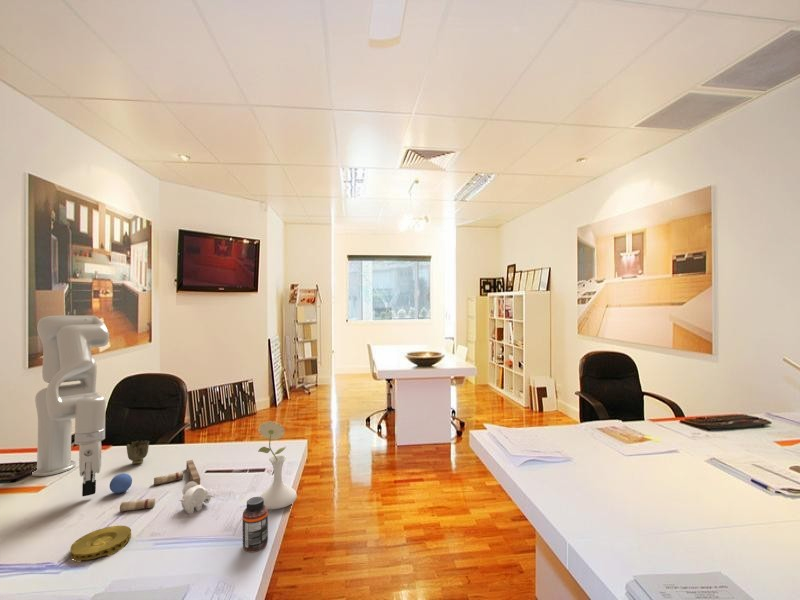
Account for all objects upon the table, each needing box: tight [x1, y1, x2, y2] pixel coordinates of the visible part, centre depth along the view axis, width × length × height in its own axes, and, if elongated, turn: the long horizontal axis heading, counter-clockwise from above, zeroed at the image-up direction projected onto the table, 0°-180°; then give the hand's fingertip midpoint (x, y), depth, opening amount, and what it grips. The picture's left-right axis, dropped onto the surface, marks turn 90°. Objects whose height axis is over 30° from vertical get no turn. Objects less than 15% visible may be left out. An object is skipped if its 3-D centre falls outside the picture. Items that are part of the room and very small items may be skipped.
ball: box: [109, 472, 133, 494], centre depth 124 cm, size 6×6×6 cm
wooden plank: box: [185, 459, 201, 485], centre depth 135 cm, size 20×2×3 cm, turn 36°
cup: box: [125, 439, 150, 466], centre depth 148 cm, size 8×7×8 cm
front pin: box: [119, 497, 156, 512], centre depth 113 cm, size 2×2×8 cm
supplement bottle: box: [242, 496, 269, 553], centre depth 94 cm, size 6×6×11 cm
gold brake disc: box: [69, 525, 132, 562], centre depth 95 cm, size 12×12×2 cm
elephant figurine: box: [178, 480, 215, 514], centre depth 113 cm, size 8×10×7 cm
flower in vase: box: [257, 420, 298, 510], centre depth 116 cm, size 13×11×25 cm
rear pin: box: [153, 471, 184, 486], centre depth 131 cm, size 2×2×8 cm
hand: (89, 494), depth 120 cm, fingers closed
